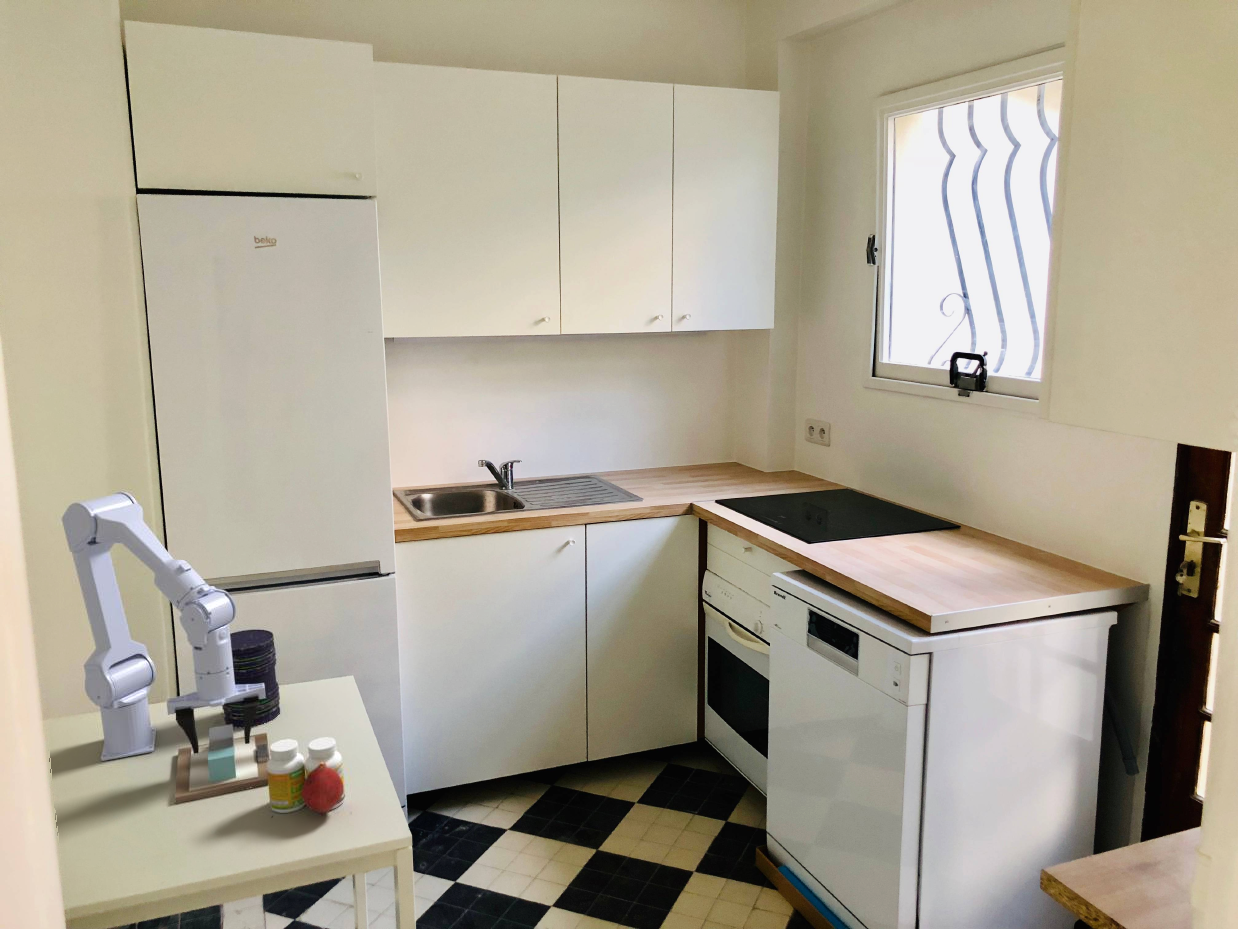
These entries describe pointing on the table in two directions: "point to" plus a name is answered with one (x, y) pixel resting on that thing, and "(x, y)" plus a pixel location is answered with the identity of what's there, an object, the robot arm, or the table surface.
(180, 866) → the table surface
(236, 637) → the dark blue cylinder
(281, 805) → the supplement bottle
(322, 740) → the supplement bottle
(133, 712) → the robot arm
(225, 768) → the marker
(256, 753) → the clipboard
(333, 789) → the onion
